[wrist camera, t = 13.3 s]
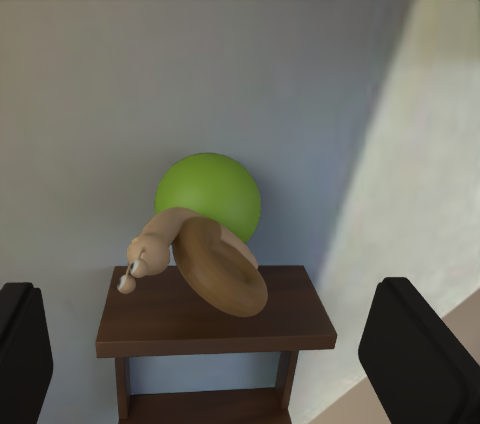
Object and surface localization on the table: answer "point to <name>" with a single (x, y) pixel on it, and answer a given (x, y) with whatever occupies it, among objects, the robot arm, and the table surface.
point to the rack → (210, 343)
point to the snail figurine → (204, 233)
